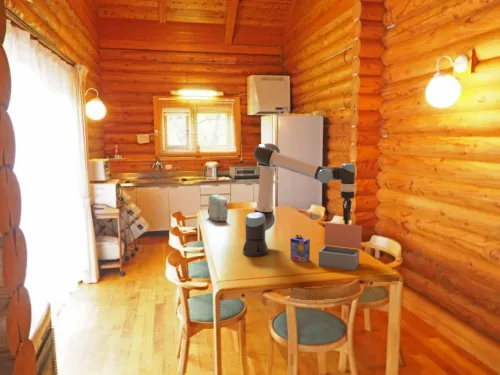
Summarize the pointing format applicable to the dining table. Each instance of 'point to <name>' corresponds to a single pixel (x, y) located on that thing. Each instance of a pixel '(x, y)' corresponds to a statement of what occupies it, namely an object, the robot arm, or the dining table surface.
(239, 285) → the dining table surface
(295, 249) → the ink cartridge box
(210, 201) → the lunch box
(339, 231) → the lid
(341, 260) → the box
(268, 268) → the dining table surface
